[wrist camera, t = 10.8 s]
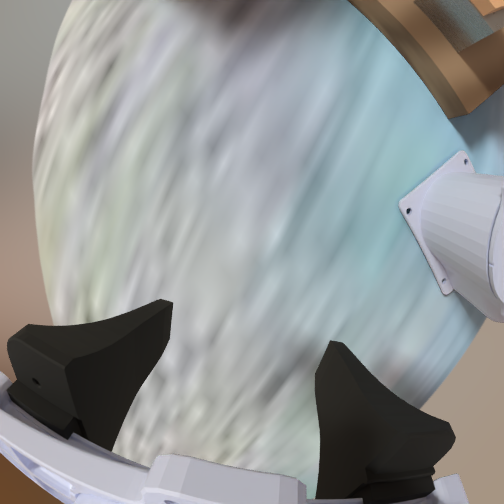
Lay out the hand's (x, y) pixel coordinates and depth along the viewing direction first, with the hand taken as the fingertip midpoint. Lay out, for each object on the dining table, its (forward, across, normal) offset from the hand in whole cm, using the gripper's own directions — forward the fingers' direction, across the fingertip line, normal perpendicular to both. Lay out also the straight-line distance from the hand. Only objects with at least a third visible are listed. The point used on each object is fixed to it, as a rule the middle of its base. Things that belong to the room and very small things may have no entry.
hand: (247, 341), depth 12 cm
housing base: (+6, -11, -25) cm, 28 cm away
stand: (+9, -11, -25) cm, 29 cm away
